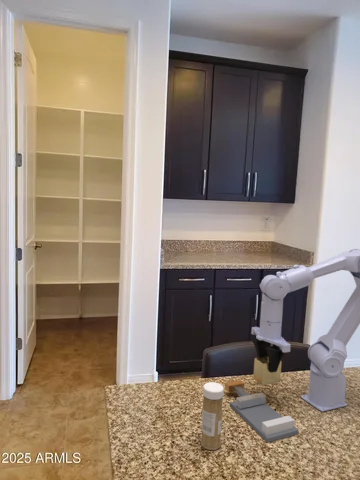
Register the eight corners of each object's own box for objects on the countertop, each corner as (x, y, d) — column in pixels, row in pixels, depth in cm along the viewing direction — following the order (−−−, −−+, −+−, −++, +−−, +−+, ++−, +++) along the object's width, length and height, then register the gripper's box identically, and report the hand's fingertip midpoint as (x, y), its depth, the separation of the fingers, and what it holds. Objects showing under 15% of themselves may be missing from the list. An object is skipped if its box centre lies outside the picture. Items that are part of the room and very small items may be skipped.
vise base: (257, 400, 99) (258, 389, 99) (298, 434, 84) (299, 422, 84) (229, 406, 95) (230, 395, 95) (267, 442, 81) (268, 430, 81)
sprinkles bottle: (224, 446, 79) (228, 388, 78) (208, 453, 76) (212, 393, 75) (211, 435, 82) (215, 379, 81) (196, 441, 80) (199, 384, 79)
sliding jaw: (244, 385, 104) (244, 379, 104) (265, 403, 95) (265, 396, 95) (220, 390, 101) (220, 383, 101) (240, 408, 92) (240, 401, 92)
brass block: (270, 375, 101) (272, 355, 101) (280, 382, 98) (281, 361, 97) (253, 378, 99) (254, 357, 98) (261, 385, 95) (263, 363, 95)
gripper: (243, 313, 102) (240, 359, 103) (276, 329, 89) (272, 382, 90) (264, 311, 105) (261, 356, 106) (298, 327, 92) (294, 378, 93)
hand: (267, 367), depth 98 cm, fingers closed on brass block, 4 cm apart
